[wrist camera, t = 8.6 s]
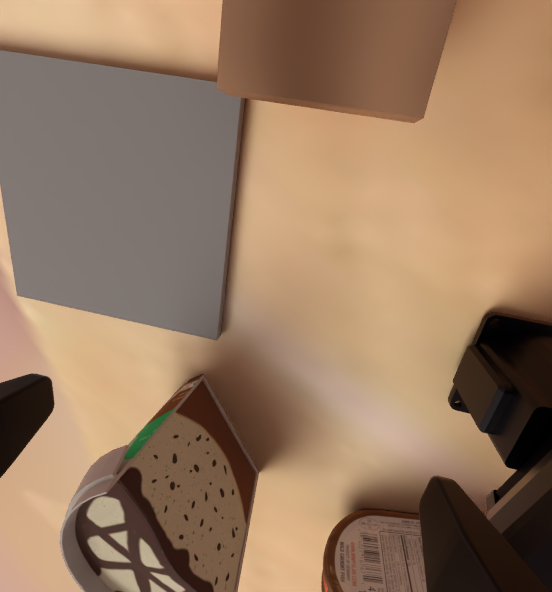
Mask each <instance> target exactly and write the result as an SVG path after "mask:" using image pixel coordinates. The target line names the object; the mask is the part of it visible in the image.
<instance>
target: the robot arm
mask: <svg viewBox="0 0 552 592" xmlns="http://www.w3.org/2000/svg"><path fill="white" fill-rule="evenodd" d="M494 319H497V322H496V323H495V324H490V322H491V321H492V320H494ZM453 383H454V386H453V388H452V391H451V393H450V395H449V397H448V402H449V404H450V406H451V408H452V409H454V410H457V411H461V412H466V413H470V414H471V416H472V418H473V419H474V421H475V423H476V425H477V427H478V428H479V430H480V431H481V432H483V433H487V434H488V436H489V437H490V439H491V441H492V443H493V444H494V446H495V448H496V450H497V451H498V453H499V455H500V457H501V458H502V460H503V462H504V464H505V465H506V467H509V468H512V469H516V470H517V471H516V472H515V473H514V474H513V475H512V476H511V477H510V478H509V479H508V480H507V481H506V482H505V483H504V484H503V485H502V486H501V487H500V488H499V489H498V490H493V491H492V492H491V493H490V494H489V495H488V496H487V498H486V499H487V509H488V512H487V515H486V516H485V515H484V514H483V513H482V512H481V511H480V509H479V508H478V507H477V506H476V505H475V504H474V502H473V501H472V500H471V499H470V498H469V497H468V496H467V494H466V493H465V492H464V491H463V490H462V489H461V487H460V486H459V485H458V484H457V483H456V482H455V481H454V480H451V479H448V478H444V477H440V476H433V477H432V478H431V479H430V481H429V483H428V485H427V488H426V490H425V492H424V494H423V496H422V498H421V501H420V505H419V516H420V527H421V537H422V548H423V558H424V569H425V579H426V588H427V592H552V323H548V322H543V321H538V320H533V319H528V318H523V317H518V316H513V315H508V314H503V313H498V312H490V313H488V314H486V315H485V316H484V317H483V319H482V321H481V324H480V326H479V328H478V331H477V333H476V335H475V338H474V340H473V342H472V344H471V345H469V346H468V347H467V349H466V351H465V353H464V356H463V358H462V360H461V363H460V365H459V367H458V370H457V372H456V374H455V377H454V379H453ZM458 400H461V401H460V402H459V403H455V402H456V401H458ZM53 408H54V396H53V387H52V381H51V379H50V378H49V377H47V376H43V375H39V374H28V375H25V376H22V377H18V378H15V379H12V380H9V381H5V382H2V383H0V478H1V476H2V475H3V474H4V473H5V472H6V471H7V469H8V468H9V467H10V466H11V465H12V463H13V462H14V461H15V460H16V458H17V457H18V456H19V454H20V453H21V452H22V451H23V449H24V448H25V447H26V445H27V444H28V442H30V440H31V439H32V438H33V436H34V435H35V433H37V431H38V430H39V428H40V427H41V426H42V425H43V423H44V422H45V421H46V420H47V418H48V417H49V416H50V414H51V413H52V411H53Z"/></svg>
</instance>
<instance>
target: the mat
mask: <svg viewBox="0 0 552 592" xmlns="http://www.w3.org/2000/svg"><path fill="white" fill-rule="evenodd" d="M216 87H217V82H213V81H206V80H199V79H193V78H186V77H179V76H172V75H166V74H159V73H152V72H145V71H139V70H132V69H125V68H118V67H112V66H105V65H98V64H91V63H85V62H78V61H71V60H64V59H58V58H51V57H44V56H37V55H30V54H24V53H17V52H10V51H3V50H0V186H1V192H2V199H3V206H4V212H5V219H6V225H7V232H8V238H9V245H10V252H11V258H12V265H13V271H14V278H15V284H16V291H17V296H21V297H26V298H30V299H35V300H39V301H43V302H48V303H52V304H57V305H61V306H66V307H70V308H75V309H79V310H84V311H88V312H93V313H97V314H101V315H106V316H110V317H115V318H119V319H124V320H128V321H133V322H137V323H142V324H146V325H151V326H155V327H159V328H164V329H168V330H173V331H177V332H182V333H186V334H191V335H195V336H200V337H204V338H209V339H213V340H217V339H218V338H219V336H220V335H221V328H222V318H223V308H224V299H225V289H226V279H227V270H228V260H229V251H230V241H231V231H232V222H233V212H234V202H235V193H236V183H237V174H238V164H239V154H240V145H241V135H242V125H243V116H244V106H245V98H241V97H234V96H228V95H227V94H225V93H224V92H222V91H221V90H219V89H218V88H216Z"/></svg>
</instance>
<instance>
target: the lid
mask: <svg viewBox="0 0 552 592" xmlns="http://www.w3.org/2000/svg"><path fill="white" fill-rule="evenodd" d="M456 1H457V0H223V4H222V18H221V32H220V46H219V60H218V74H217V87H216V88H218V89H219V90H221V91H222V92H224V93H225V94H227V95H228V96H234V97H241V98H248V99H255V100H261V101H268V102H275V103H282V104H288V105H295V106H302V107H309V108H315V109H322V110H329V111H336V112H342V113H349V114H356V115H363V116H369V117H376V118H383V119H390V120H396V121H403V122H410V123H415V122H417V121H419V120H421V119H422V118H423V117H424V114H425V110H426V107H427V103H428V100H429V96H430V93H431V89H432V86H433V82H434V79H435V75H436V72H437V68H438V65H439V61H440V58H441V54H442V50H443V47H444V43H445V40H446V36H447V33H448V29H449V26H450V22H451V19H452V15H453V12H454V8H455V5H456Z"/></svg>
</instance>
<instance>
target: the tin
mask: <svg viewBox="0 0 552 592" xmlns="http://www.w3.org/2000/svg"><path fill="white" fill-rule="evenodd" d="M322 592H427V588H426V579H425V569H424V558H423V548H422V537H421V527H420V516H419V515H417V514H409V513H401V512H393V511H385V510H374V509H369V510H362V511H358V512H354V513H352V514H350V515H348V516H346V517H345V518H344V519H342V520H341V521H340V522H339V523H338V524H337V525H336V526H335V527H334V529H333V530H332V532H331V534H330V536H329V538H328V541H327V544H326V547H325V552H324V558H323V572H322Z"/></svg>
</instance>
